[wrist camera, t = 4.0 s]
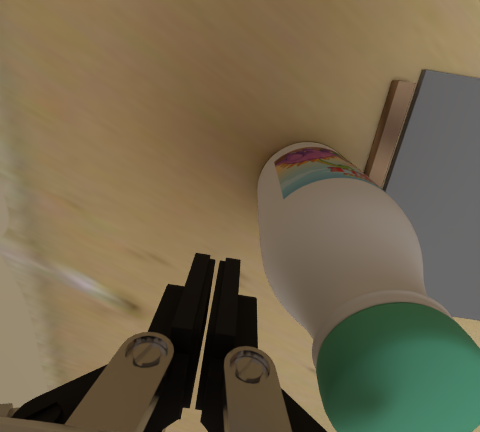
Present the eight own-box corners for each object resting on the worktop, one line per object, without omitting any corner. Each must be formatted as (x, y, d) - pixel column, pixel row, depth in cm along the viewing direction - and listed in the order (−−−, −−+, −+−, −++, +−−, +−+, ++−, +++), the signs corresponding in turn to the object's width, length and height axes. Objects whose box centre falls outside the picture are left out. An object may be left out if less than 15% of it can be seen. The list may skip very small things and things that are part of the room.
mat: (422, 70, 24) (426, 69, 23) (608, 101, 24) (616, 101, 23) (346, 297, 31) (348, 301, 31) (489, 318, 31) (493, 322, 31)
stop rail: (392, 80, 24) (399, 80, 23) (408, 83, 24) (416, 83, 23) (330, 285, 31) (332, 293, 30) (342, 287, 31) (345, 295, 30)
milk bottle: (317, 243, 29) (431, 522, 11) (240, 204, 28) (218, 442, 9) (369, 168, 26) (643, 367, 8) (286, 122, 25) (382, 228, 7)
